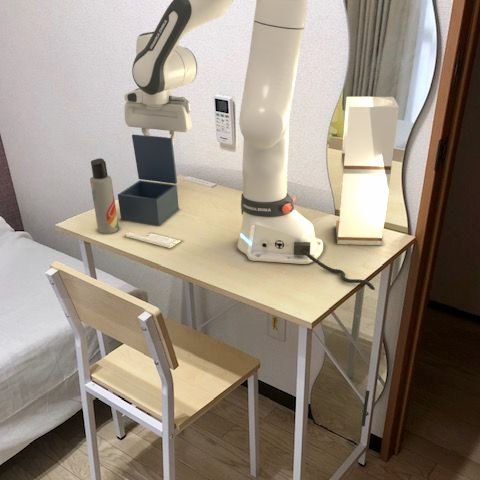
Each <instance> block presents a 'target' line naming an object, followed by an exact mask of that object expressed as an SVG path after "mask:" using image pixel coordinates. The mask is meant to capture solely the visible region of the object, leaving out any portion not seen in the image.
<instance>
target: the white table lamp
mask: <svg viewBox="0 0 480 480" xmlns="http://www.w3.org/2000/svg"><path fill="white" fill-rule="evenodd" d="M399 111H400V105H399V104H398V103H397V101H396V99H395V97H394V96H346V97H345V111H344V122H343V132H342V133H343V134H342V147H341V160H340V168H341V169H340V170H341V175H342V184H341V196H340V207H339V218H338V220H336V222H335V223H336V224H335V233H336V242H337V245H360V246H361V245H362V246H364V245H365V246H382V243H383V235H384V227H385V220H386V212H387V205H388V198H389V197H388V196H389V191H390V190H389V189H390V180H391V174H392V166H393V157H394V151H395V143H396V141H395V140H396V135H397V129H398V128H397V127H398V119H399Z"/></svg>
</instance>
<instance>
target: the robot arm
mask: <svg viewBox="0 0 480 480" xmlns="http://www.w3.org/2000/svg"><path fill="white" fill-rule="evenodd" d="M233 2H234V0H172V1H171V2H170V4H169V5H168V6H167V8H166V10H165V11H164V13H163V15H162V17H161V18H160V20H159V22H158V24H157V26H156V27H155V29H154V31H149V32H143V33H140V34H139V35H138V36H137V37H136V43H135V45H136V46H135V50H136V51H135V55H136V56H135V58H134V61H133V62H132V69H131V73H132V75H131V76H132V78H133V81H134V82H135V85H136V86H137V87H138V88H136V89H134V90H131V91H129V92H126V93H124V96H123V97H124V101H125V104H124V110H123V111H124V112H123V113H124V121H125V124H126V125H127V127H129V128H138V129H139V128H140V129H141V133H142V134H143V135H144V136H151V134H150V132H149V131H150V130H157V131H158V130H159V131H168V132H169V135H170V137H169V138H172V142H173V146H175V139H176V136H177V135H178V133H187V132H189V131H190V130H191V129H192V127H193V122H192V115H191V103H190V101H189V100H188V99H187V98H185V97H184V96H174V95H173V92H172V89H177V88H180V87H183V86H187V85H190V84H193V82H194V80H195V79H196V77H197V75H198V74H197V73H198V62H197V59H196V57H195V55H194V53H193V52H192V51H191V50H190V49H189V48H187V47H184V46H181V45H179V44H180V42H181V40H182V39H183V38H184V36H185V35H186V34H188V33H189V32H191V31H192V30H194V29H195V28H198V27H200V26H202V25H204V24H208V23H209V22H212V21H214V20H217V19H219V18H221V17H222V16H223V15H224V14H225V13H226V12H227V10H228V9H229V8H230V7H231V5H232V4H233ZM307 8H308V0H256V1H255V10H254V16H253V24H252V32H251V38H250V46H249V53H248V61H247V67H246V73H245V78H244V84H243V85H244V86H243V91H242V92H243V93H242V99H241V105H240V111H239V118H238V119H239V120H238V123H239V125H238V126H239V130H240V133H241V135H242V137H243V146H242V147H243V148H242V193H241V196H240V197H241V198H240V210H241V215H242V217H241V218H242V219H241V226H240V227H241V228H240V233H239V238H238V241H237V249H238V250H239V251H240V252H241V253H243V254H244V255H246V257H247V258H248V260H249V261H253V262H268V263H283V264H297V265H298V264H299V265H308V264H311V263H313V262H314V263H315V264H317V265H318V266H319V267H321V268H322V269H324V270H326V271H328V272H331V273H335V274H340V278H341V280H342V281H343V282H345V283H348V284H364V285H366V286H367V287H368V288H369V289H370V290H371V291H372V290H373V291H375V290H376V288H375V287H374V285H373V284H372V283H371V282H370V281H368V280H366V279H361V278H359V279H357V278H356V279H355V278H348V277H346V273H345V271H343V270H342V269H339V268H333V267H330V266H328V265H326V264H324V263H323V262H322V261H320V260H319V257H320V256H321V255H322V253H323V251H324V242H323V240H322V239H320V238H318V237H316V232H315V228H314V225H313V223H312V222H311V221H310V220H309V219H308V218H306V217H305V216H304V215H302V214H301V213H300V212H299V211H298V210H297V209H295V202H296V196H295V195H294V196H293V197H291V196H290V195H289V193H288V191H287V190H288V165H289V164H288V162H289V161H288V160H289V136H290V115H291V109H292V103H293V96H294V90H295V85H296V79H297V72H298V66H299V61H300V54H301V50H302V44H303V38H304V32H305V26H306V19H307V10H308V9H307ZM369 397H370V390H367V389H366V390H365V395H364V401H363V411H362V416H361V418H362V419H361V427H365V426H366V420H367V412H368V404H369Z"/></svg>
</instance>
